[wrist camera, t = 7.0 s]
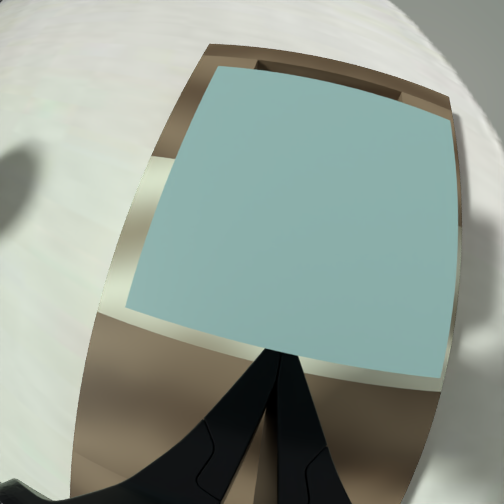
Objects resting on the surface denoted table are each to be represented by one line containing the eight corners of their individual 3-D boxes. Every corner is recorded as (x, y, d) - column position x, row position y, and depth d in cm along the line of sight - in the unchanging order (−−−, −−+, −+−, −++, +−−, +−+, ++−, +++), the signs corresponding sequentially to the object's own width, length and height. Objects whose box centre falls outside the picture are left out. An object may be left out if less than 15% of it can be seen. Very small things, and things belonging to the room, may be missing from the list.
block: (350, 357, 13) (440, 378, 5) (201, 322, 14) (124, 307, 6) (374, 216, 15) (450, 120, 7) (240, 185, 16) (218, 65, 8)
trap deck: (320, 602, 10) (323, 617, 8) (83, 542, 12) (71, 553, 10) (438, 112, 19) (448, 96, 17) (213, 62, 21) (209, 43, 19)
